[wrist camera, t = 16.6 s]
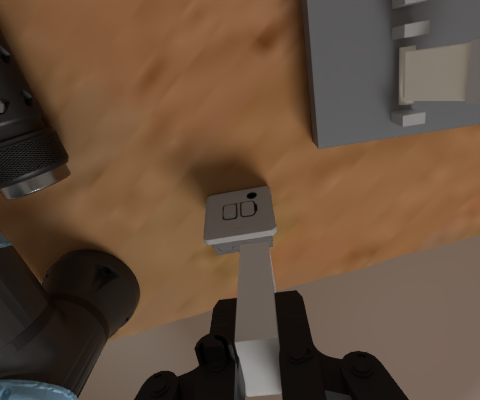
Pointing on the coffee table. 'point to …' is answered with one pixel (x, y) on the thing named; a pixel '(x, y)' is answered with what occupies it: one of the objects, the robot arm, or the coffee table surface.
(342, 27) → the breaker panel
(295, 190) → the coffee table surface
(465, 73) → the breaker
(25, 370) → the robot arm
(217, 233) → the electrical switch
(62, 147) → the muzzle brake
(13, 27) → the coffee table surface
